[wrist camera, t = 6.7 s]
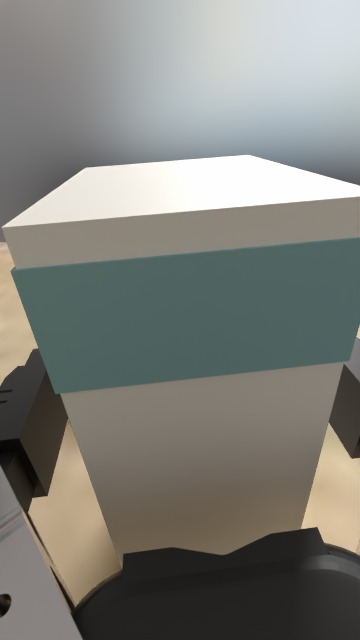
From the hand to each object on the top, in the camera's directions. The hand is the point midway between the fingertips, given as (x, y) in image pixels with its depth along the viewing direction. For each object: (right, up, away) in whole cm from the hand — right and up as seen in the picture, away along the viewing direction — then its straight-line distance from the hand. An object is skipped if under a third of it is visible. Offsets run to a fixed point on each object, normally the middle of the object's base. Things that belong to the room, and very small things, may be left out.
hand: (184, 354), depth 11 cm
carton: (+1, -7, +2) cm, 7 cm away
